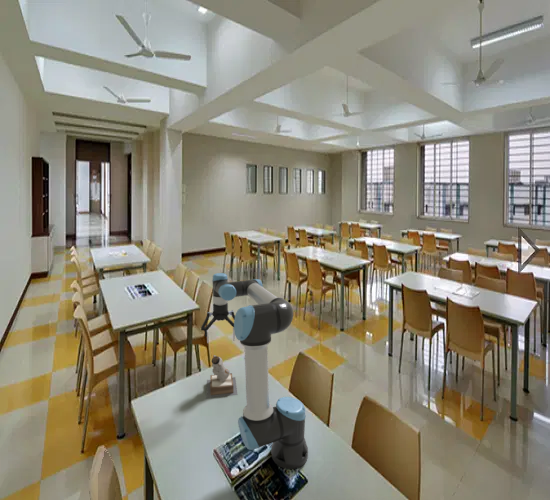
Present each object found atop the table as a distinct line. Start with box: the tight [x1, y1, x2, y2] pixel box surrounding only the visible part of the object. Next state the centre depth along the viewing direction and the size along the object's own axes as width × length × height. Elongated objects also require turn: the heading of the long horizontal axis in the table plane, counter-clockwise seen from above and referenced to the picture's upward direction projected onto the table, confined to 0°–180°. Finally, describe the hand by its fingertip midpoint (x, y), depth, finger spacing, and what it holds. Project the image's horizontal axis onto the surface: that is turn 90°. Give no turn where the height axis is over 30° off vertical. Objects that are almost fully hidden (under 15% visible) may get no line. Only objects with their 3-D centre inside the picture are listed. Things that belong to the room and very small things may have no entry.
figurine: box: [211, 354, 230, 382], centre depth 167 cm, size 9×10×15 cm
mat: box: [206, 376, 238, 399], centre depth 170 cm, size 16×16×1 cm
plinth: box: [209, 373, 234, 395], centre depth 169 cm, size 12×12×4 cm
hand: (221, 341), depth 165 cm, fingers open, 13 cm apart
